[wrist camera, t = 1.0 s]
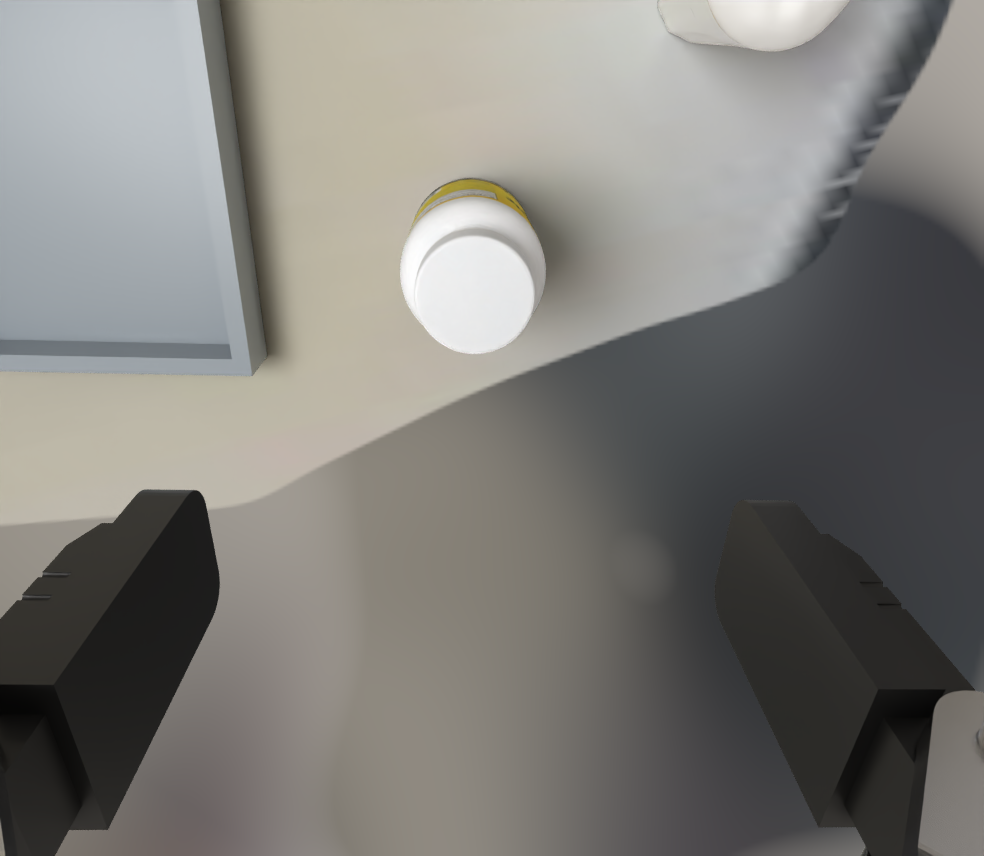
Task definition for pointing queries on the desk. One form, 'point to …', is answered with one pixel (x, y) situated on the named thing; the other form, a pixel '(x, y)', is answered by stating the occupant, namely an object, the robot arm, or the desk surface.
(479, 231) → the supplement bottle
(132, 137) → the tray
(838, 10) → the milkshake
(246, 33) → the desk surface
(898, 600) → the robot arm
